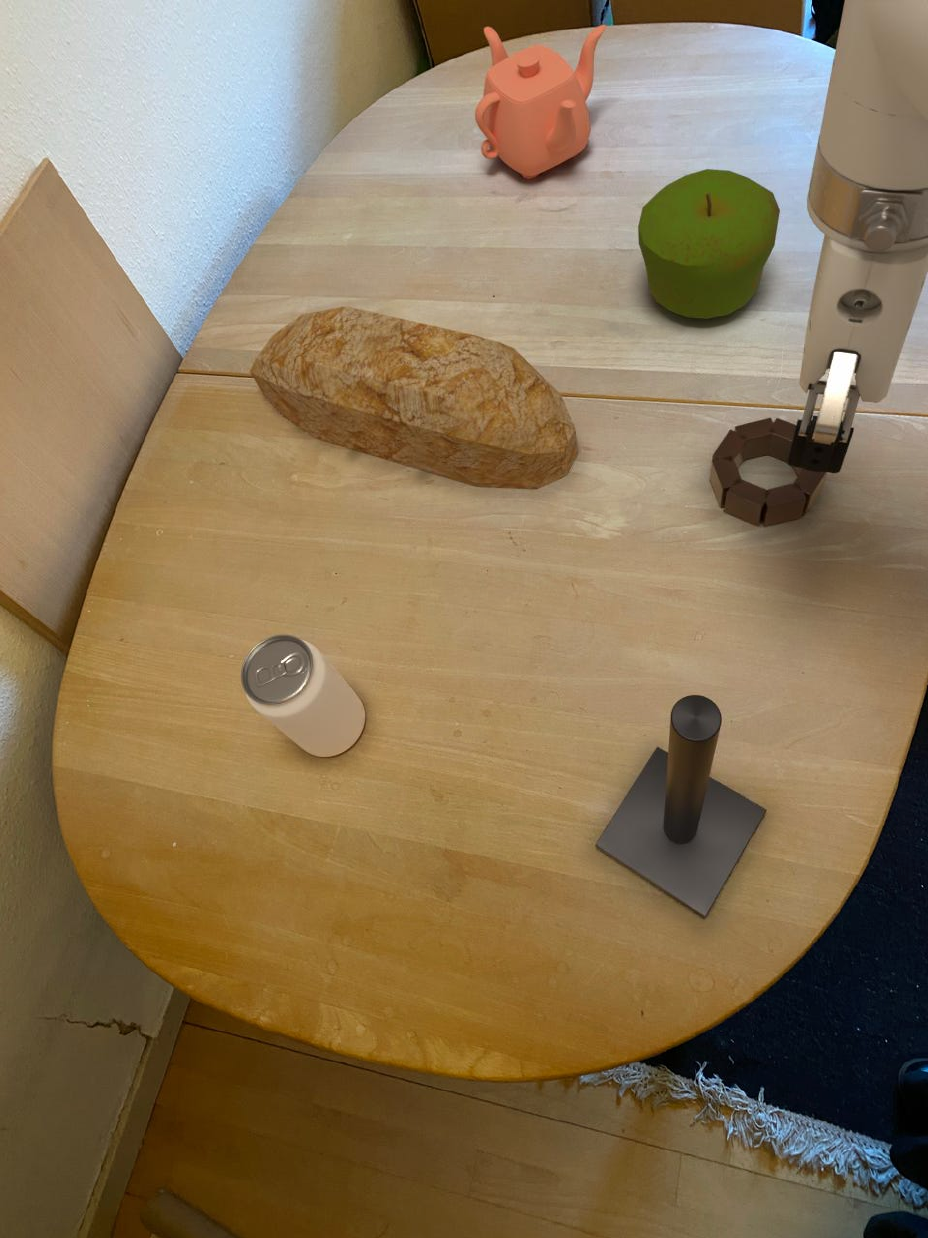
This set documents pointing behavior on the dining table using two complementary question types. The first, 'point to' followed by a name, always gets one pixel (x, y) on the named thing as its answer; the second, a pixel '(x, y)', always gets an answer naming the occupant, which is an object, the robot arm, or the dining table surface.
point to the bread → (419, 397)
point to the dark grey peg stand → (683, 814)
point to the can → (302, 695)
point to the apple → (707, 242)
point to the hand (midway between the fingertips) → (827, 407)
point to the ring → (754, 499)
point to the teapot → (535, 105)
